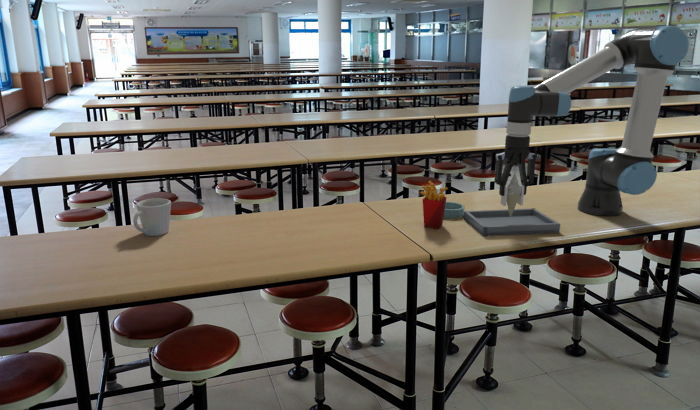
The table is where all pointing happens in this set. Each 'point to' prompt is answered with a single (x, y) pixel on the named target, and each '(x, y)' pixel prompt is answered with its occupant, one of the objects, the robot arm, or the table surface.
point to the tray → (511, 222)
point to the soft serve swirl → (513, 194)
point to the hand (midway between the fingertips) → (511, 204)
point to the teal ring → (453, 210)
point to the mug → (153, 216)
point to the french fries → (433, 206)
